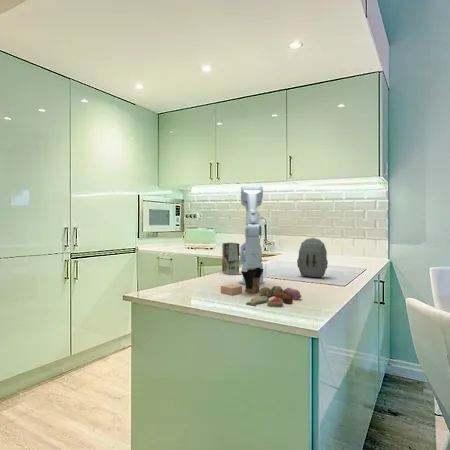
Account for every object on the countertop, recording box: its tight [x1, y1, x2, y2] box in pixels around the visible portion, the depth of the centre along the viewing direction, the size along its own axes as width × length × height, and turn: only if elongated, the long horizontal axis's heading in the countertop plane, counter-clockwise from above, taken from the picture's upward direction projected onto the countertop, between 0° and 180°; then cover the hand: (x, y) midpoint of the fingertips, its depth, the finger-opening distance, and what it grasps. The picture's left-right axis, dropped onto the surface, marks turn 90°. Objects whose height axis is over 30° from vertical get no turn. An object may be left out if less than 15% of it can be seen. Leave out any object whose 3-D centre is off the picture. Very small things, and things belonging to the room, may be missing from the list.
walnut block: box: [244, 277, 260, 294], centre depth 142 cm, size 4×4×6 cm
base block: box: [220, 283, 243, 296], centre depth 139 cm, size 6×6×3 cm
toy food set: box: [245, 285, 302, 308], centre depth 129 cm, size 26×16×4 cm, turn 158°
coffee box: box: [221, 242, 240, 276], centre depth 187 cm, size 9×6×16 cm
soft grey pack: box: [296, 237, 329, 278], centre depth 178 cm, size 15×8×20 cm, turn 65°
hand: (252, 287), depth 142 cm, fingers closed on walnut block, 5 cm apart
